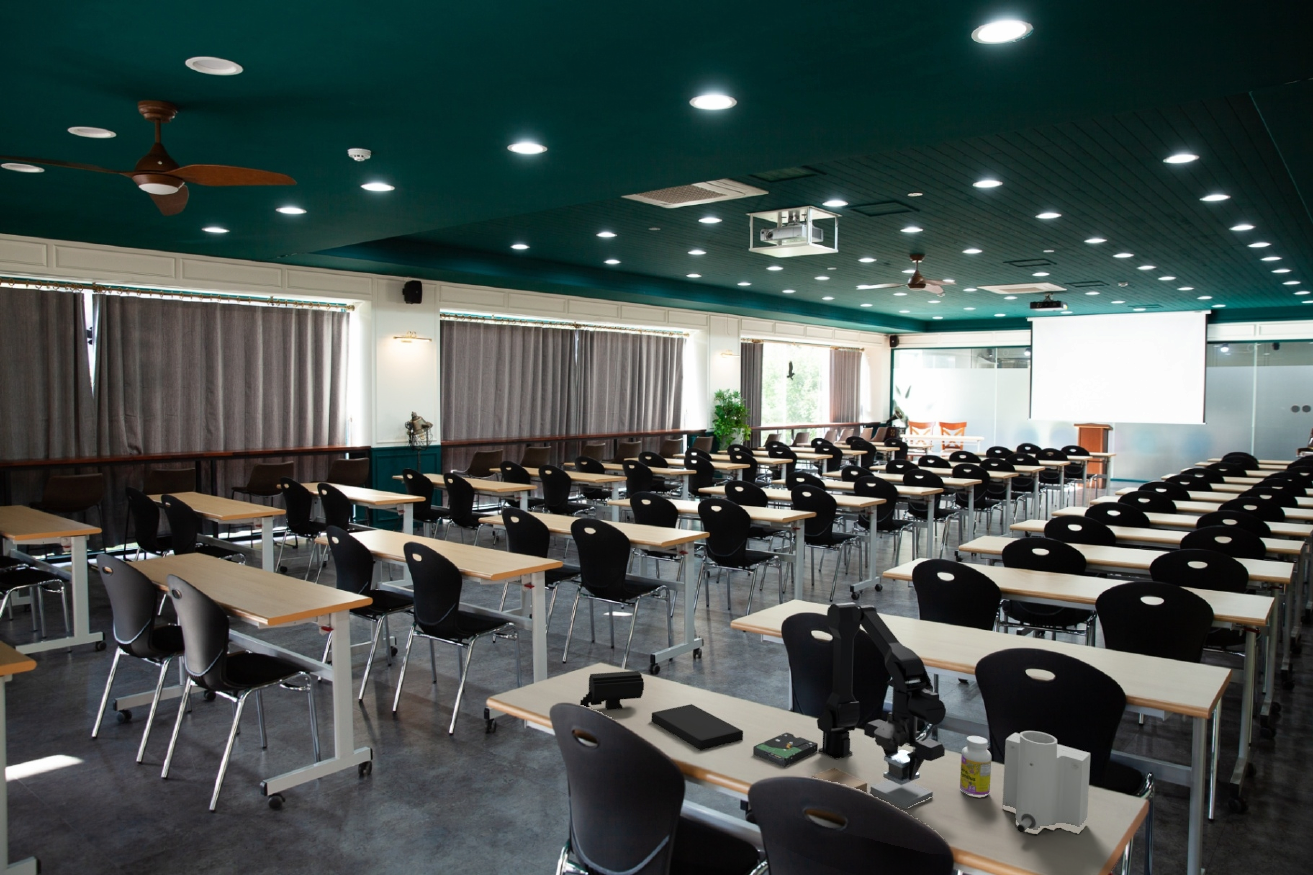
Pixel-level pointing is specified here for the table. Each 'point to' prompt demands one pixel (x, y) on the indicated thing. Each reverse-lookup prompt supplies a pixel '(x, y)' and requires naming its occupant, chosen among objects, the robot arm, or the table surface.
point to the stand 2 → (901, 793)
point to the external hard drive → (697, 727)
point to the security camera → (613, 688)
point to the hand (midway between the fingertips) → (901, 775)
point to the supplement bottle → (975, 767)
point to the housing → (899, 767)
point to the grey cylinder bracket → (1045, 781)
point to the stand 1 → (842, 778)
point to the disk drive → (785, 749)
